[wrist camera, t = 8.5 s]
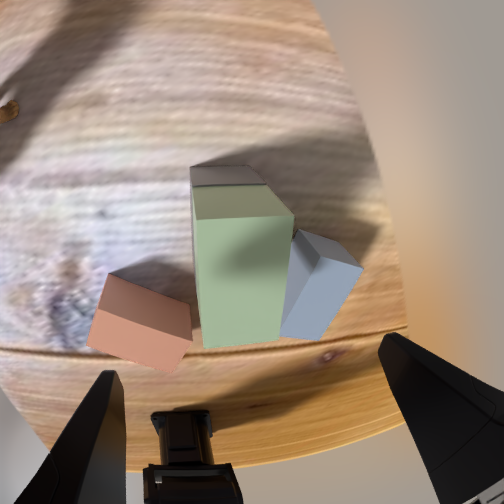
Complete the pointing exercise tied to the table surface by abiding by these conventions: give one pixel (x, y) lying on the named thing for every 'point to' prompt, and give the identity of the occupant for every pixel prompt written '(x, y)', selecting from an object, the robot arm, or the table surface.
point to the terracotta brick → (140, 325)
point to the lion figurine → (8, 111)
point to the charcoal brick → (220, 183)
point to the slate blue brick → (316, 285)
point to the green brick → (240, 263)
